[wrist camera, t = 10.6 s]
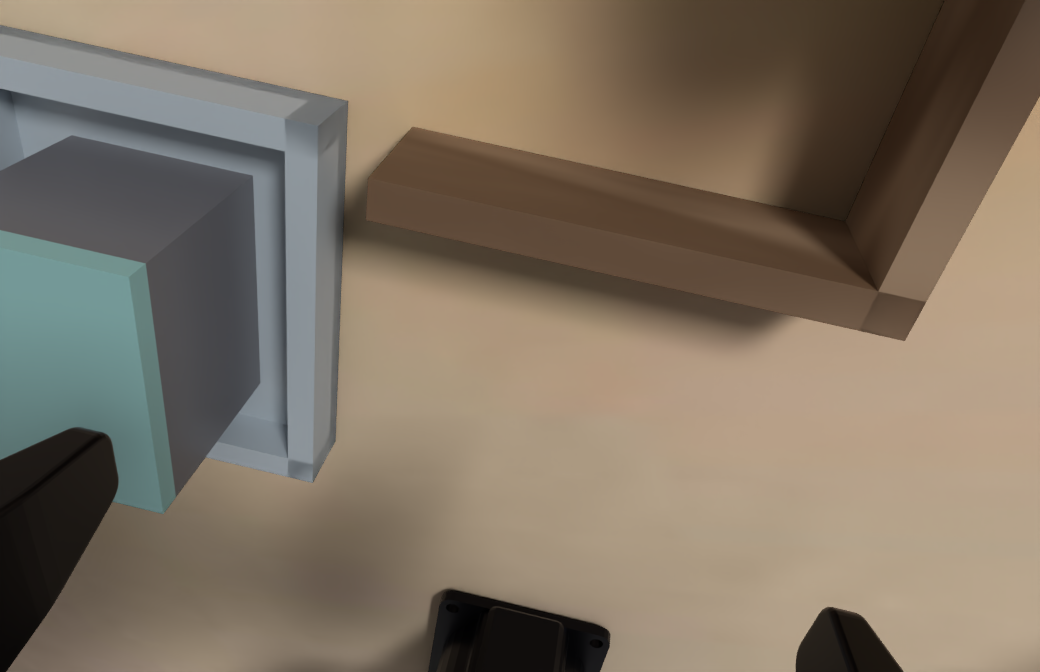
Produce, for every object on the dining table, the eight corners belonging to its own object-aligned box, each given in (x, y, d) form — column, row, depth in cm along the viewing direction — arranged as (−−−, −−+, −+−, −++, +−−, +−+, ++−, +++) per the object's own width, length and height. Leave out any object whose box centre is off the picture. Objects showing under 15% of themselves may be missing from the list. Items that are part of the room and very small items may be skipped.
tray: (335, 441, 26) (312, 482, 24) (63, 376, 26) (22, 413, 24) (348, 100, 19) (318, 125, 17) (-15, 21, 19) (-78, 38, 18)
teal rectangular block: (260, 383, 24) (163, 513, 19) (108, 347, 24) (-25, 468, 19) (253, 175, 20) (128, 277, 15) (71, 135, 20) (-105, 223, 16)
